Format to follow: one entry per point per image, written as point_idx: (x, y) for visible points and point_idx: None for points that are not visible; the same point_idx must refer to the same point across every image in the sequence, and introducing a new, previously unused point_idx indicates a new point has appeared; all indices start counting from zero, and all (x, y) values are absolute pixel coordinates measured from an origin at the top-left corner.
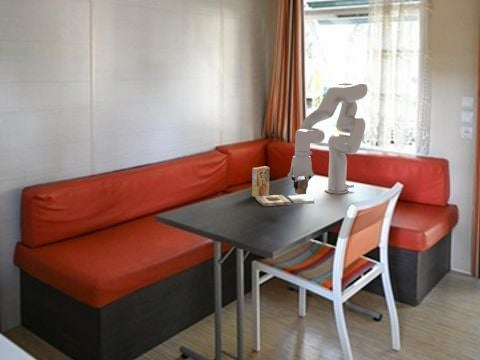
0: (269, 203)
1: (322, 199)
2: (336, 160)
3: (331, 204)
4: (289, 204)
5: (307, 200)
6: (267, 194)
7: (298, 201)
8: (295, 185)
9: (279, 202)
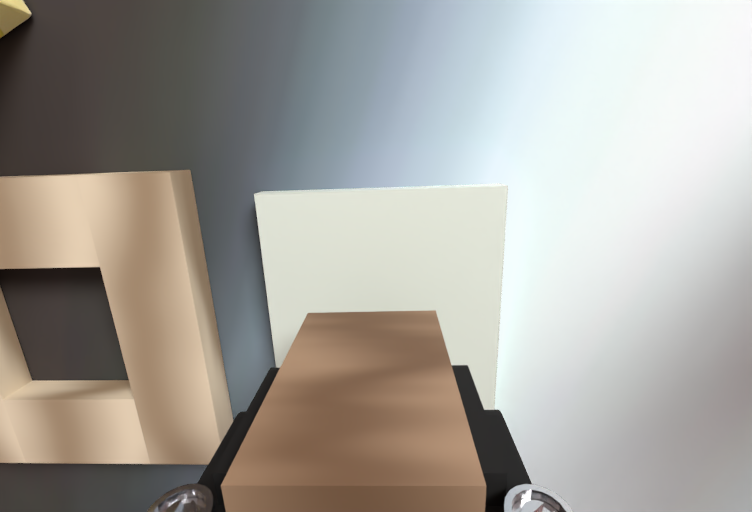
0: (15, 458)
1: (639, 338)
2: None
3: (621, 506)
4: None
5: None
6: (2, 24)
7: None
8: None
9: (110, 462)
